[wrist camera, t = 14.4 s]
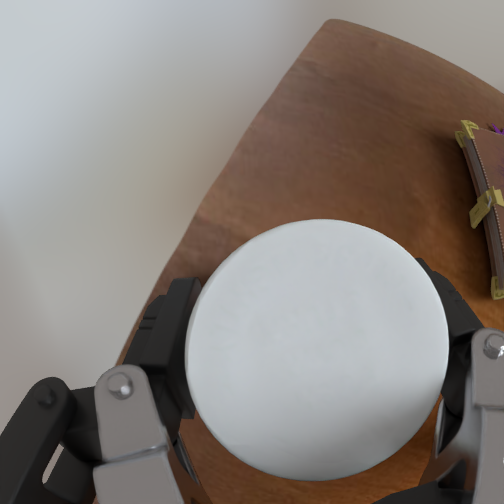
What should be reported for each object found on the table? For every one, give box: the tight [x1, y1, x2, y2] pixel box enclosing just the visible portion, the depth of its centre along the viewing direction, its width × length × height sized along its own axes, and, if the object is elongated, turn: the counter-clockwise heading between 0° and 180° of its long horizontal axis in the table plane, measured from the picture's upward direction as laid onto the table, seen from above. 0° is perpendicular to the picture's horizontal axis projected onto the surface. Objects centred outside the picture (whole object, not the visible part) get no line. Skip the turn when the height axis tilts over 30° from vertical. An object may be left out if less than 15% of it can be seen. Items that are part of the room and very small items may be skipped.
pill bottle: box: [185, 219, 449, 481], centre depth 10 cm, size 6×6×11 cm
